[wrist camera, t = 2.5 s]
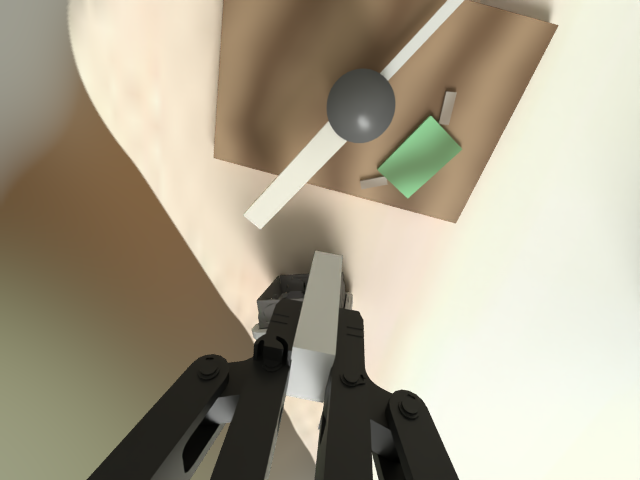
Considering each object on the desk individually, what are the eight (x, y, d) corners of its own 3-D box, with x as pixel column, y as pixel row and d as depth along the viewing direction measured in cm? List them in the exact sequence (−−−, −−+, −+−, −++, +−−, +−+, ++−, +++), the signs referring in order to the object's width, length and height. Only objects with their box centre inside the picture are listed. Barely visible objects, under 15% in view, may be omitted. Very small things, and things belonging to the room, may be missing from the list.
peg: (442, -36, 20) (472, -77, 15) (481, 19, 21) (521, -1, 16) (252, 182, 29) (228, 205, 24) (286, 213, 30) (271, 241, 25)
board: (549, 27, 22) (561, 24, 21) (452, 218, 30) (457, 225, 28) (234, -61, 22) (225, -70, 20) (218, 155, 30) (211, 158, 28)
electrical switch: (278, 300, 38) (254, 354, 29) (270, 263, 36) (242, 309, 27) (353, 297, 36) (351, 353, 28) (349, 258, 34) (345, 305, 26)
